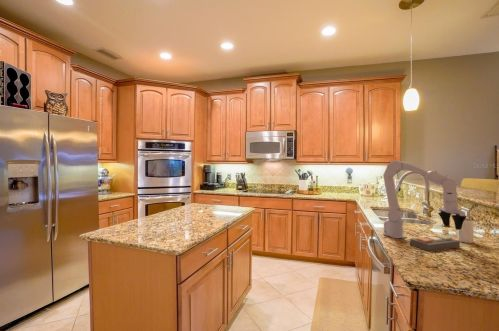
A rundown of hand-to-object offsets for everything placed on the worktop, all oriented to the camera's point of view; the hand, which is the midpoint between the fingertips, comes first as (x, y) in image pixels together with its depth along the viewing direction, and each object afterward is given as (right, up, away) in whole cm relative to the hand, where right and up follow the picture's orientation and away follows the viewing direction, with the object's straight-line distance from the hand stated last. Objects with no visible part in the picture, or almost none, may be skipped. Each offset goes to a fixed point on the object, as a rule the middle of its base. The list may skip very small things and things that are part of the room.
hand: (452, 227), depth 125 cm
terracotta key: (-16, -7, -2) cm, 18 cm away
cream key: (-10, -7, 0) cm, 12 cm away
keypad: (-10, -9, 0) cm, 13 cm away
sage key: (-3, -7, +1) cm, 8 cm away
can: (+12, -9, +6) cm, 17 cm away
